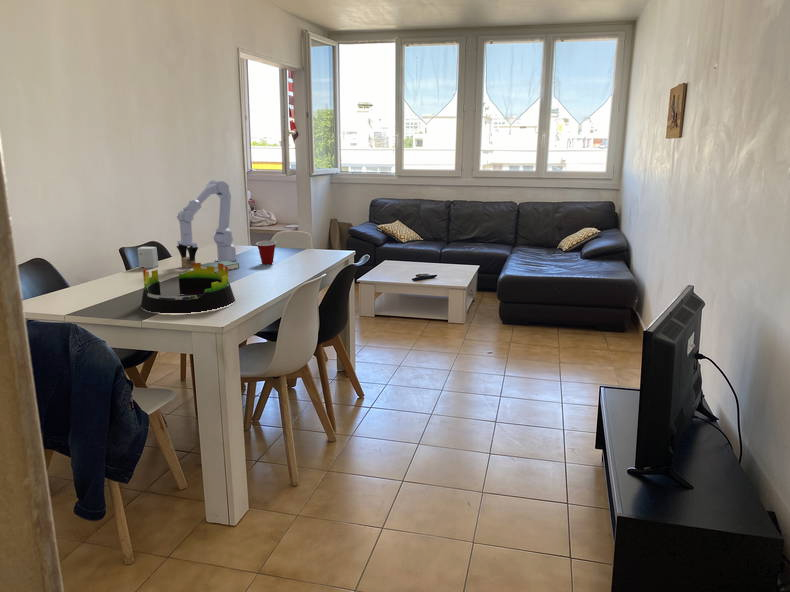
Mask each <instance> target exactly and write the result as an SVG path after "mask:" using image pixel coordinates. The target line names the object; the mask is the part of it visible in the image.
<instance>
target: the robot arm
mask: <svg viewBox="0 0 790 592" xmlns="http://www.w3.org/2000/svg"><path fill="white" fill-rule="evenodd" d="M215 194H216V195H217V197H218V198H219V200H220V201H219V216H218V226H217V228H216V230H215V234H214V236H213V241H214V242H215V243H216V247H217V249H216V250H217V251H216V253H217V259H214V262H217V261H224V260H226V261H231V262H236V261H237V250H236V247H235V245H234V244H232V243H233V242H234V239H233V232H232V230H231V228H230V218H231V217H230V216H231V199H232V194H231V192H230V185H229V184H228V182H226V181H225V180H216V179H213V180H210V181H209V182H208V183H207V184H206V186H205V188H204V189H203V191H202V192H201V193H200V194H199V195H198V196H197V198H196V199H192V200H190V201H189V203H188V204H186V205H187V206H185V207H184V208H183V210H180V211H179V212H178V213H177V215H176V218H177V220H178V222H179V229H180V240H177V245H176V249H178V252H179V255H180V258H183V257H187V252H188V255H189V256H188V257H190V261H193V260H195V261H196V254H197V252H198V249H199V246H197V245H198V243H196V242H194V240H193V229H192V226H193V225H192V221H194V217H195V215H196V214H197V213H198V212H199V210H200V209H201V208H202V204H203V203H204V202H205V201H206V200H207V199H208V198H209V197H210V196H211V195H215ZM235 260H236V261H235Z"/></svg>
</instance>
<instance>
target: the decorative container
mask: <svg viewBox="0 0 790 592" xmlns="http://www.w3.org/2000/svg"><path fill="white" fill-rule="evenodd" d="M201 264H202V263H201V262H195V263H193V267H192V269H193V270H186V271H185V273H178V285H179V286H178V287H179V295H175V296H173V295H172V296H170V295H161V294H162V293H161V283H160V281H159V273H158V272H159V271H158V269H155V270H151V272H150V271H149V270H148V271H147V268H143V270H142V274H143V275H142V276H143V291H142V297H141V303H140V308H141V307H142V308H143V309H145V310H147V311H151V312H160V313H191V312H201V311H207V310H212V309H217V308H220V307H224V306H227V305H229V304H231V303H233V302H234V301H235V302H236V299H235V295H234V292H233V290H232V289H233V288H232V287H231V284H230V279H229V270H228V267H227V266H225V269H224V265H223V264H221V263H218V272H216V273H215V271H214V266H207V268H201ZM150 273H151V276H150ZM180 294H201V295H199V296H197V295H182V296H180Z"/></svg>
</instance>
